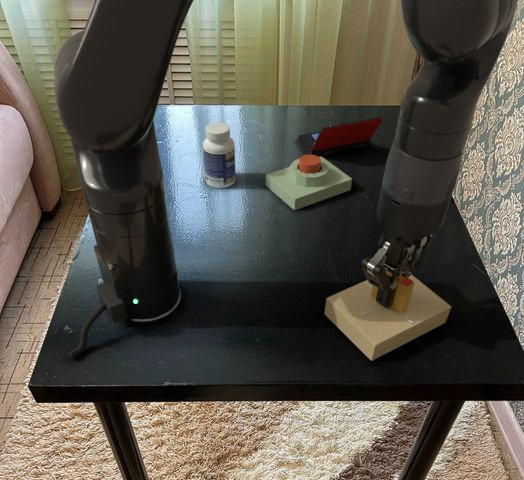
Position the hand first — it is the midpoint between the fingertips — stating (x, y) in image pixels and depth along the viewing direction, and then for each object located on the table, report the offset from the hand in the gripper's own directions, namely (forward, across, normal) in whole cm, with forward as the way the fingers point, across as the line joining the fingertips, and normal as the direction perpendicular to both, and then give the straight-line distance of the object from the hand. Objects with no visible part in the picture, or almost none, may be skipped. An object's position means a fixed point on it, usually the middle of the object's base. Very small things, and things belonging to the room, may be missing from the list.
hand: (388, 299), depth 71 cm
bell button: (0, -17, -29) cm, 33 cm away
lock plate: (+3, 0, 0) cm, 3 cm away
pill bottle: (+4, -7, -41) cm, 42 cm away
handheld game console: (+4, -31, -35) cm, 47 cm away
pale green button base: (+4, -17, -29) cm, 34 cm away
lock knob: (0, 0, 0) cm, 0 cm away
